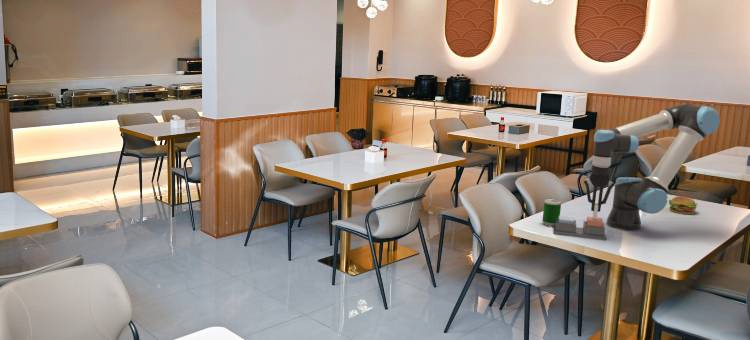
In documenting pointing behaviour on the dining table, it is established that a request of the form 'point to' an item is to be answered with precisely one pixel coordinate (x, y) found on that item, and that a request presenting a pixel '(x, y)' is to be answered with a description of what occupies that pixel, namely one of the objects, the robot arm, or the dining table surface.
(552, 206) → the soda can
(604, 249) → the dining table surface
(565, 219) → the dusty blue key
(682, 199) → the food
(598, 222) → the brick red key
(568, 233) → the key console
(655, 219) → the dining table surface
